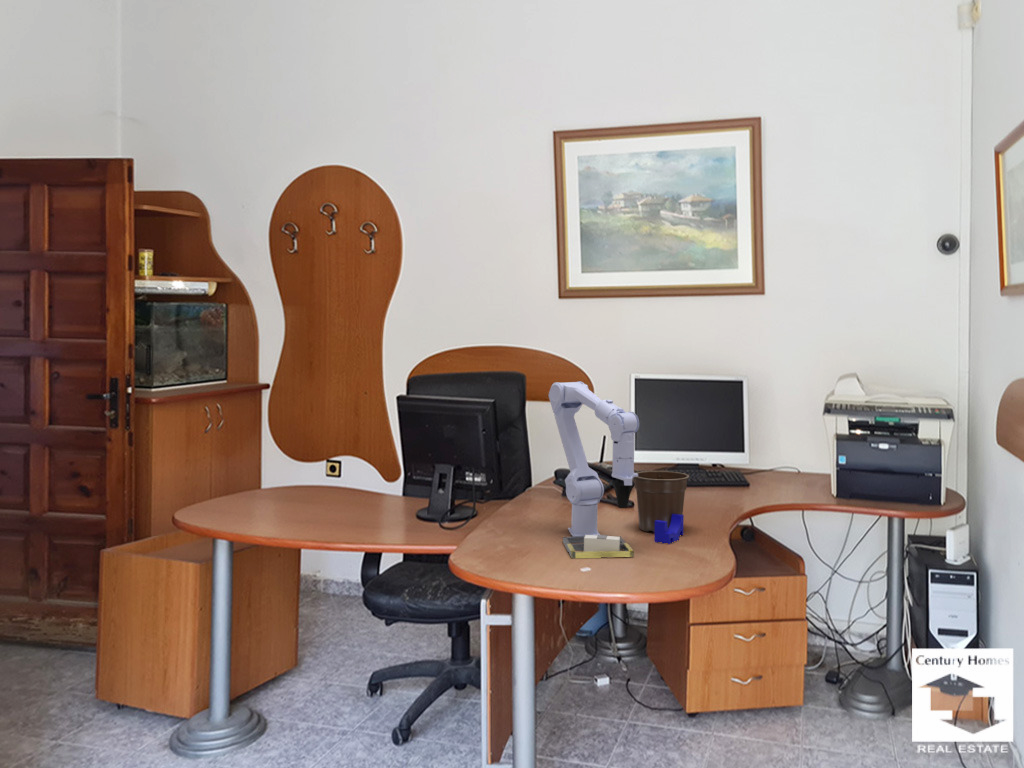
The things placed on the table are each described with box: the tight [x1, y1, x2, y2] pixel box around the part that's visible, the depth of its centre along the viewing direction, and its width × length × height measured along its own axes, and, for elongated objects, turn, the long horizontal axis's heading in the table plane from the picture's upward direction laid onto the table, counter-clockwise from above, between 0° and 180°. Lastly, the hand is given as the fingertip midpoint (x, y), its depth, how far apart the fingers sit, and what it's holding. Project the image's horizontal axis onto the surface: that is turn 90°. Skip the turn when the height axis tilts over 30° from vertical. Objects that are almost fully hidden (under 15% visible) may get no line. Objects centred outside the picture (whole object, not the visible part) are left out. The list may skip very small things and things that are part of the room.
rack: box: [562, 535, 635, 559], centre depth 234 cm, size 17×16×2 cm
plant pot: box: [633, 470, 690, 534], centre depth 258 cm, size 16×16×16 cm
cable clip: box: [653, 514, 685, 545], centre depth 246 cm, size 12×4×6 cm, turn 144°
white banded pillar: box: [583, 534, 621, 552], centre depth 230 cm, size 4×9×5 cm, turn 78°
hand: (622, 507), depth 238 cm, fingers closed
